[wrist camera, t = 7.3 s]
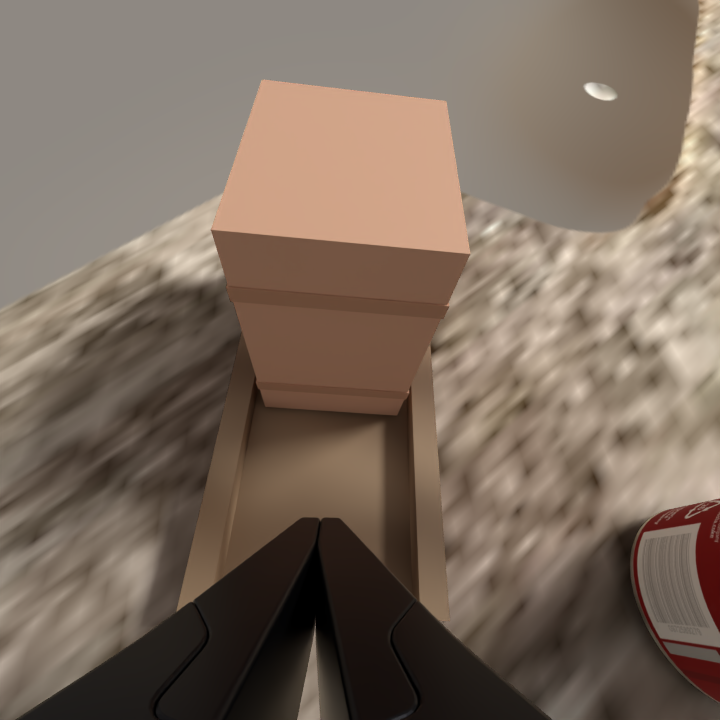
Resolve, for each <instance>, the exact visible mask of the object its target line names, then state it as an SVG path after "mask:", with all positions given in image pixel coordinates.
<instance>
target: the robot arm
mask: <svg viewBox="0 0 720 720" xmlns="http://www.w3.org/2000/svg"><path fill="white" fill-rule="evenodd" d="M315 620H316V653H317V670H318V687H319V704H320V720H552V719H551V718H550V717H548V716H547V715H546V714H545V713H544V712H542V711H541V710H540V709H539V708H538V707H537V706H535V705H534V704H533V703H532V702H531V701H529V700H528V699H527V698H526V697H525V696H524V695H522V694H521V693H520V692H519V691H518V690H516V689H515V688H514V687H513V686H512V685H510V684H509V683H508V682H507V681H506V680H505V679H503V678H502V677H501V676H500V675H499V674H497V673H496V672H495V671H494V670H493V669H492V668H490V667H489V666H488V665H487V664H486V663H484V662H483V661H482V660H481V659H480V658H479V657H478V656H476V655H475V654H474V653H473V652H472V651H471V650H470V649H468V648H467V647H466V646H465V645H464V644H463V643H462V642H461V641H459V640H458V639H457V638H456V637H455V636H454V635H453V634H452V633H451V632H450V631H449V630H448V629H447V628H446V627H445V626H444V625H443V624H442V623H441V622H440V621H439V620H438V619H437V618H436V617H435V616H434V615H432V613H431V612H430V611H429V610H428V609H427V608H426V607H425V606H424V605H423V604H422V603H421V602H420V601H417V599H416V598H415V597H414V596H413V595H412V593H411V592H410V591H409V590H408V589H407V588H406V587H405V586H404V585H403V584H402V583H401V582H400V581H399V580H398V579H397V578H396V577H395V576H394V574H393V573H392V572H391V571H390V570H389V569H388V568H387V567H386V566H385V565H384V564H383V563H382V562H381V561H380V560H379V559H378V558H377V557H376V555H375V554H374V553H373V552H372V551H371V550H370V549H369V548H368V547H367V546H366V545H365V544H364V543H363V542H362V541H361V540H360V539H359V537H358V536H357V535H356V534H355V533H354V532H353V531H352V530H351V529H350V528H349V527H348V526H347V525H346V524H345V523H344V522H343V521H342V520H341V519H340V518H329V517H324V518H322V519H321V522H320V519H319V518H317V517H302V518H300V519H299V520H297V521H296V522H295V523H294V524H292V525H291V526H290V527H288V528H287V529H286V530H284V531H283V532H282V533H280V534H279V535H278V536H276V537H275V538H274V539H273V540H271V541H270V542H269V543H267V544H266V545H265V546H263V547H262V548H261V549H259V550H258V551H257V552H256V553H254V554H253V555H252V556H250V557H249V558H248V559H246V560H245V561H244V562H242V563H241V564H240V565H239V566H237V567H236V568H235V569H233V570H232V571H231V572H229V573H228V574H227V575H225V576H224V577H223V578H222V579H220V580H219V581H218V582H216V583H215V584H214V585H212V586H211V587H210V588H208V589H207V590H206V591H205V592H203V593H202V594H201V595H199V596H198V597H197V598H195V599H194V600H193V602H189V603H187V604H186V605H185V606H184V607H182V608H181V609H180V610H178V611H177V612H176V613H174V614H173V615H172V616H170V617H169V618H168V619H166V620H165V621H163V622H162V623H161V624H159V625H158V626H157V627H155V628H154V629H152V630H151V631H150V632H148V633H147V634H145V635H144V636H143V637H141V638H140V639H138V640H137V641H135V642H134V643H132V644H131V645H129V646H128V647H126V648H125V649H123V650H122V651H120V652H119V653H117V654H116V655H114V656H113V657H111V658H110V659H108V660H107V661H105V662H104V663H102V664H101V665H99V666H98V667H96V668H95V669H93V670H92V671H90V672H89V673H87V674H85V675H84V676H82V677H81V678H79V679H78V680H76V681H75V682H73V683H72V684H70V685H68V686H67V687H65V688H64V689H62V690H61V691H59V692H58V693H56V694H54V695H53V696H51V697H50V698H48V699H47V700H45V701H44V702H42V703H41V704H39V705H37V706H36V707H34V708H33V709H31V710H30V711H28V712H27V713H25V714H23V715H22V716H20V717H19V718H17V719H16V720H297V717H298V712H299V707H300V702H301V697H302V692H303V687H304V682H305V677H306V672H307V667H308V662H309V657H310V652H311V647H312V642H313V636H314V630H315Z"/></svg>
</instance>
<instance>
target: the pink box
mask: <svg viewBox="0 0 720 720" xmlns="http://www.w3.org/2000/svg"><path fill="white" fill-rule="evenodd" d="M211 231H212V235H213V238H214V241H215V244H216V248H217V251H218V254H219V258H220V261H221V264H222V267H223V271H224V274H225V277H226V280H227V285H226V289H227V292H228V295H229V299H230V302H233V303H234V306H235V310H236V313H237V316H238V320H239V323H240V326H241V329H242V333H243V336H244V339H245V342H246V346H247V349H248V352H249V355H250V359H251V362H252V365H253V369H254V372H255V375H256V378H257V380H256V384H257V387H258V389H260V391H261V395H262V398H263V401H264V404H265V407H275V408H290V409H305V410H320V411H335V412H350V413H365V414H380V415H395V416H397V415H398V412H399V410H400V408H401V406H402V404H403V401H404V399H407V397H408V394H409V388H410V386H411V384H412V382H413V379H414V377H415V375H416V373H417V371H418V368H419V366H420V364H421V362H422V359H423V357H424V355H425V353H426V351H427V348H428V346H429V344H430V342H431V340H432V337H433V335H434V333H435V331H436V329H437V326H438V324H439V322H440V320H441V319H444V316H445V314H446V312H447V310H448V308H449V300H450V298H451V295H452V293H453V291H454V289H455V287H456V284H457V282H458V280H459V278H460V276H461V273H462V271H463V269H464V267H465V265H466V262H467V260H468V258H469V256H470V249H469V243H468V236H467V230H466V224H465V217H464V211H463V204H462V198H461V192H460V185H459V180H458V173H457V166H456V160H455V154H454V148H453V141H452V135H451V128H450V122H449V116H448V109H447V103H446V101H440V100H432V99H423V98H415V97H406V96H398V95H389V94H381V93H372V92H364V91H355V90H346V89H338V88H329V87H321V86H313V85H304V84H296V83H286V82H279V81H270V80H262V81H261V84H260V87H259V90H258V93H257V96H256V99H255V101H254V104H253V108H252V110H251V114H250V116H249V119H248V122H247V125H246V128H245V131H244V134H243V137H242V140H241V143H240V146H239V149H238V152H237V154H236V158H235V160H234V163H233V166H232V169H231V173H230V175H229V178H228V181H227V184H226V187H225V190H224V193H223V196H222V199H221V202H220V205H219V208H218V210H217V213H216V216H215V219H214V222H213V225H212V228H211Z"/></svg>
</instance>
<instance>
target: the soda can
mask: <svg viewBox="0 0 720 720" xmlns="http://www.w3.org/2000/svg"><path fill="white" fill-rule="evenodd" d="M630 575H631V582H632V588H633V592H634V596H635V599H636V603H637V606H638V608H639V611H640V614H641V616H642V618H643V620H644V622H645V625H646V627H647V628H648V630H649V632H650V634H651V636H652V637H653V639H654V641H655V642H656V644H657V645H658V647H659V648H660V650H661V651H662V652H663V654H664V655H665V656H666V658H667V659H668V660H669V661H670V663H671V664H672V665H673V666H674V667H675V668H676V669H677V670H678V671H679V673H680V674H681V675H682V676H683V677H685V678H686V679H687V680H688V681H689V682H690V683H691V684H692V685H694V686H695V687H696V688H697V689H698V690H700V691H701V692H703V693H704V694H705V695H707V696H708V697H710V698H711V699H713V700H715V701H716V702H718V703H720V499H716V500H711V501H706V502H702V503H697V504H693V505H688V506H683V507H679V508H674V509H670V510H665V511H662V512H660V513H657V514H656V515H654V516H652V517H651V518H650V519H648V520H647V521H646V522H645V523H644V524H643V525H642V527H641V528H640V529H639V531H638V533H637V535H636V537H635V539H634V542H633V545H632V549H631V556H630Z"/></svg>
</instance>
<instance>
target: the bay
mask: <svg viewBox="0 0 720 720" xmlns="http://www.w3.org/2000/svg"><path fill="white" fill-rule="evenodd" d="M256 380H257V378H256V375H255V372H254V369H253V365H252V362H251V359H250V355H249V352H248V349H247V346H246V342H245V339H244V336H243V333H242V332H241V336H240V341H239V345H238V349H237V353H236V358H235V362H234V366H233V370H232V375H231V379H230V383H229V388H228V392H227V396H226V400H225V405H224V409H223V413H222V418H221V422H220V426H219V430H218V435H217V439H216V443H215V448H214V452H213V456H212V460H211V465H210V469H209V473H208V478H207V482H206V486H205V490H204V495H203V499H202V503H201V507H200V512H199V516H198V520H197V525H196V529H195V533H194V537H193V542H192V546H191V550H190V555H189V559H188V563H187V567H186V572H185V576H184V580H183V585H182V589H181V593H180V597H179V602H178V606H177V610H176V611H178V610H180V609H181V608H182V607H184V606H185V605H186V604H187V603H189V602H193V600H194V599H195V598H197V597H198V596H199V595H201V594H202V593H203V592H205V591H206V590H207V589H208V588H210V587H211V586H212V585H214V584H215V583H216V582H218V581H219V580H220V579H222V578H223V577H224V576H225V575H227V574H228V573H229V572H231V571H232V570H233V569H235V568H236V567H237V566H239V565H240V564H241V563H242V562H244V561H245V560H246V559H248V558H249V557H250V556H252V555H253V554H254V553H256V552H257V551H258V550H259V549H261V548H262V547H263V546H265V545H266V544H267V543H269V542H270V541H271V540H273V539H274V538H275V537H276V536H278V535H279V534H280V533H282V532H283V531H284V530H286V529H287V528H288V527H290V526H291V525H292V524H294V523H295V522H296V521H297V520H299V519H300V518H302V517H317V518H319V519H320V522H321V519H322V518H324V517H329V518H340V519H341V520H342V521H343V522H344V523H345V524H346V525H347V526H348V527H349V528H350V529H351V530H352V531H353V532H354V533H355V534H356V535H357V536H358V537H359V539H360V540H361V541H362V542H363V543H364V544H365V545H366V546H367V547H368V548H369V549H370V550H371V551H372V552H373V553H374V554H375V555H376V557H377V558H378V559H379V560H380V561H381V562H382V563H383V564H384V565H385V566H386V567H387V568H388V569H389V570H390V571H391V572H392V573H393V574H394V576H395V577H396V578H397V579H398V580H399V581H400V582H401V583H402V584H403V585H404V586H405V587H406V588H407V589H408V590H409V591H410V592H411V593H412V595H413V596H414V597H415V598H416V599H417V601H420V602H421V603H422V604H423V605H424V606H425V607H426V608H427V609H428V610H429V611H430V612H431V613H432V615H434V616H435V617H436V618H437V619H438V620H439V621H450V617H449V603H448V589H447V575H446V561H445V547H444V533H443V519H442V505H441V491H440V476H439V462H438V448H437V434H436V420H435V406H434V392H433V378H432V364H431V349H430V344H429V346H428V348H427V351H426V353H425V355H424V357H423V359H422V362H421V364H420V366H419V368H418V371H417V373H416V375H415V377H414V379H413V382H412V384H411V386H410V388H409V394H408V397H407V399H404V401H403V404H402V406H401V408H400V410H399V412H398V415H397V416H395V415H380V414H365V413H350V412H335V411H320V410H305V409H290V408H275V407H265V404H264V401H263V398H262V395H261V391H260V389H258V387H257V384H256Z"/></svg>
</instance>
